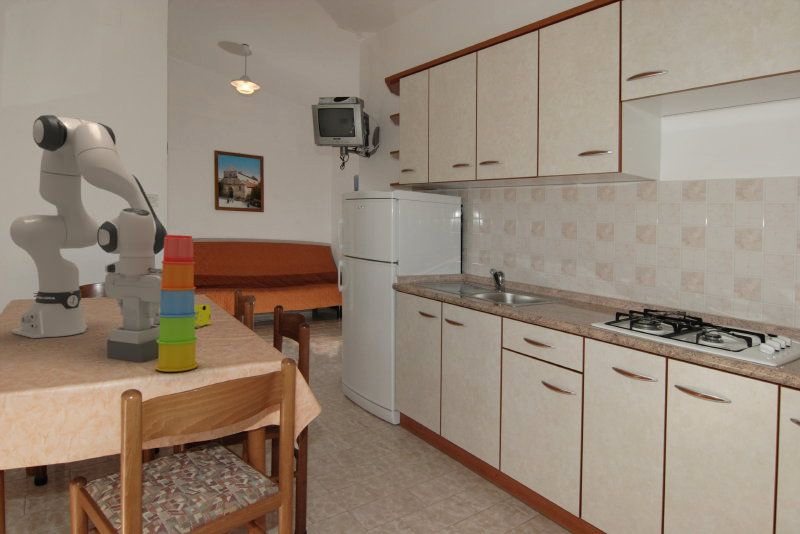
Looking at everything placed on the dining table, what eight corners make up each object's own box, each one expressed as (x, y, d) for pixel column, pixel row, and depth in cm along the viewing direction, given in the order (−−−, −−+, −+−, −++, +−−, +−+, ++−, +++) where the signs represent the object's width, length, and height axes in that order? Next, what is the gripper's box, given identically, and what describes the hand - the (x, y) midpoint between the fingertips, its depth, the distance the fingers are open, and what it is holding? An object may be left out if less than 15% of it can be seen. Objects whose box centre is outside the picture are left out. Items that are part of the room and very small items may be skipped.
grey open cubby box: (107, 360, 139) (106, 329, 139) (137, 352, 149) (136, 323, 148) (141, 365, 136) (140, 333, 135) (169, 356, 145) (169, 326, 144)
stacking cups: (148, 367, 131) (146, 234, 128) (187, 360, 139) (186, 234, 136) (166, 376, 124) (164, 235, 122) (205, 367, 132) (204, 235, 129)
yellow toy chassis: (178, 333, 172) (178, 309, 172) (165, 332, 174) (165, 308, 174) (211, 325, 187) (211, 303, 186) (199, 324, 189) (199, 302, 188)
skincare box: (151, 338, 143) (150, 296, 142) (139, 341, 138) (138, 298, 138) (134, 336, 144) (134, 294, 143) (122, 339, 140) (121, 296, 139)
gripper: (176, 268, 140) (176, 317, 141) (119, 264, 146) (120, 311, 148) (158, 270, 134) (158, 321, 135) (100, 266, 140) (101, 315, 142)
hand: (138, 316), depth 141 cm, fingers open, 8 cm apart
